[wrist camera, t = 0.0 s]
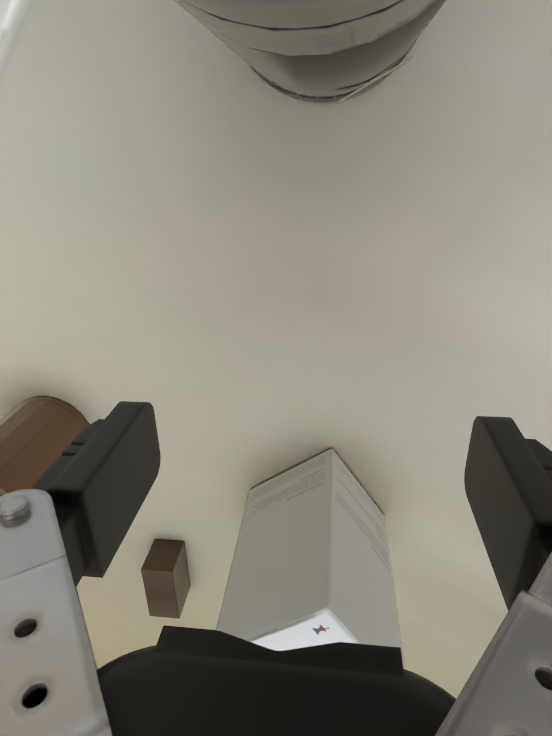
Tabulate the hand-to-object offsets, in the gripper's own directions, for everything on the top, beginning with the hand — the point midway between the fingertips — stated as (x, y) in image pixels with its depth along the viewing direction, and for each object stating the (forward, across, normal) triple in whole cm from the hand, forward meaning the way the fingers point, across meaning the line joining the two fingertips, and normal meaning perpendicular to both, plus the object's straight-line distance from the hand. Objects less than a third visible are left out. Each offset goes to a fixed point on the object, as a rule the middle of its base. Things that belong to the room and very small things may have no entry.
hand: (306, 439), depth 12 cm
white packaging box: (+17, 0, +17) cm, 24 cm away
